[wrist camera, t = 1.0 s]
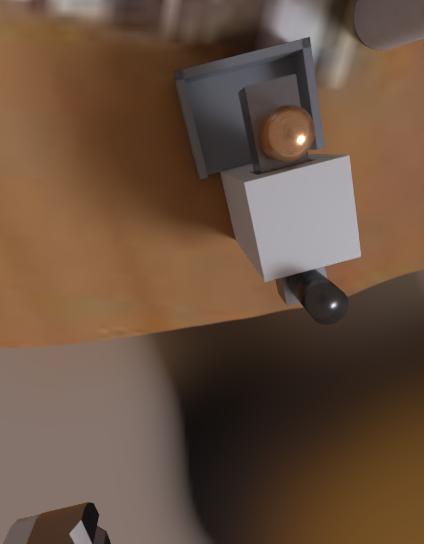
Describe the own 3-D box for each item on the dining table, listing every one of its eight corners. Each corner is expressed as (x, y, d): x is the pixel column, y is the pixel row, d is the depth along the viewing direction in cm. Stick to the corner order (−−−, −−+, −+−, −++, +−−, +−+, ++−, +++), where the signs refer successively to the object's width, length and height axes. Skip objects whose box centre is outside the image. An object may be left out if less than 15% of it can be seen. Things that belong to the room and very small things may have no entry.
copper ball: (249, 114, 29) (261, 109, 25) (300, 101, 29) (319, 94, 25) (260, 167, 30) (272, 169, 27) (308, 154, 30) (327, 155, 27)
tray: (173, 79, 39) (173, 71, 35) (296, 47, 39) (309, 36, 35) (197, 177, 42) (200, 179, 38) (311, 147, 42) (324, 147, 38)
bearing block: (219, 171, 42) (244, 182, 28) (289, 153, 42) (349, 155, 28) (235, 239, 44) (264, 282, 30) (301, 222, 44) (361, 256, 30)
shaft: (238, 92, 31) (260, 72, 23) (284, 80, 31) (323, 56, 23) (278, 293, 37) (307, 333, 29) (317, 283, 37) (357, 320, 29)
